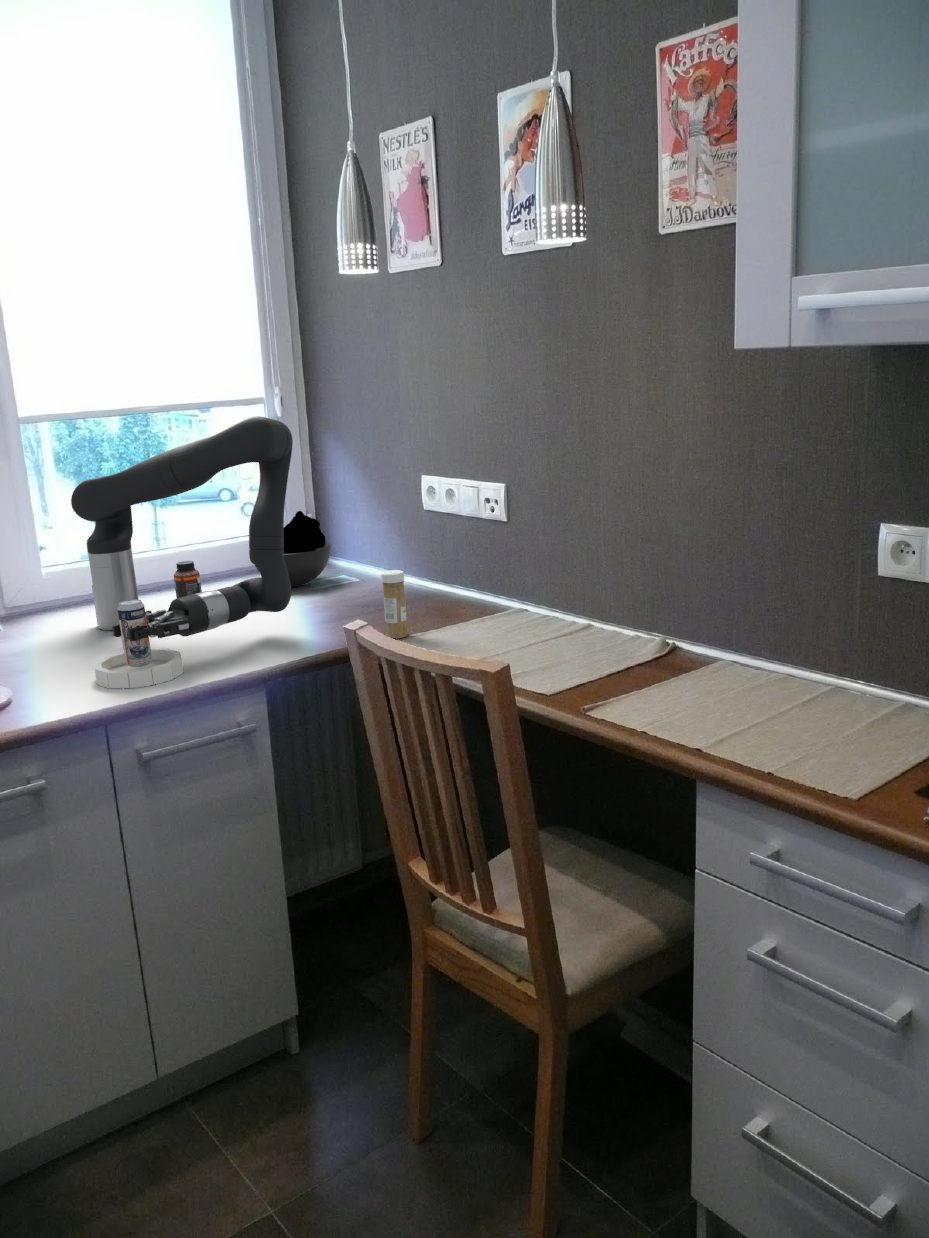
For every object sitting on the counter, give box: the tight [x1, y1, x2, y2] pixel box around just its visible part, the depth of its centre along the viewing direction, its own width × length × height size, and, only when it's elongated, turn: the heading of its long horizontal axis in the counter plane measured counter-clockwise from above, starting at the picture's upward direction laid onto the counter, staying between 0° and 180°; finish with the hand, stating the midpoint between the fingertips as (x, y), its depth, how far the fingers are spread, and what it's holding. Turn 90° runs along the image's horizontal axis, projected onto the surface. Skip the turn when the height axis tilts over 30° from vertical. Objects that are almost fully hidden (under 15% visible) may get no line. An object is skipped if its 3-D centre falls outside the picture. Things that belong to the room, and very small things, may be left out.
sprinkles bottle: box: [380, 569, 409, 640], centre depth 209 cm, size 5×5×13 cm
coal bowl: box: [254, 510, 331, 588], centre depth 261 cm, size 20×20×19 cm
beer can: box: [117, 598, 152, 667], centre depth 191 cm, size 5×5×12 cm
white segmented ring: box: [94, 648, 184, 690], centre depth 193 cm, size 15×15×3 cm
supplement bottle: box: [173, 560, 203, 599], centre depth 243 cm, size 6×6×11 cm
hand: (121, 633), depth 189 cm, fingers closed on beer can, 4 cm apart
